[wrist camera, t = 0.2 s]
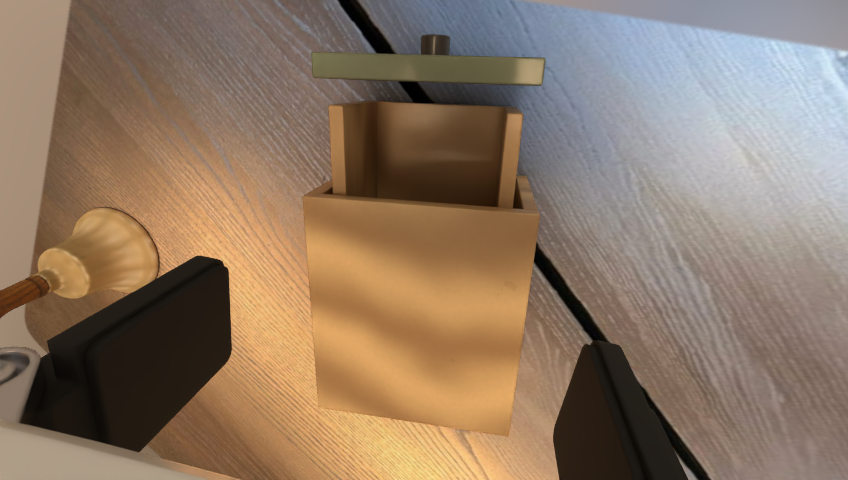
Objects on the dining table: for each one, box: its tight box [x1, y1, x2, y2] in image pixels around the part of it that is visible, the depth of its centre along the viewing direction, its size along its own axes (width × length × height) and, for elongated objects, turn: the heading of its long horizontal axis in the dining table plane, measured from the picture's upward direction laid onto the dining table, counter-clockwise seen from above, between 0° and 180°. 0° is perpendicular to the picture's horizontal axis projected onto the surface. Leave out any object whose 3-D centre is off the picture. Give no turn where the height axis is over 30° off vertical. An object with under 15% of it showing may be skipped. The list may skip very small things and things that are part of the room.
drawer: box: [311, 35, 546, 208], centre depth 25 cm, size 15×11×8 cm
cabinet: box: [303, 175, 540, 437], centre depth 28 cm, size 15×13×10 cm
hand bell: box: [0, 208, 159, 318], centre depth 30 cm, size 8×8×16 cm
